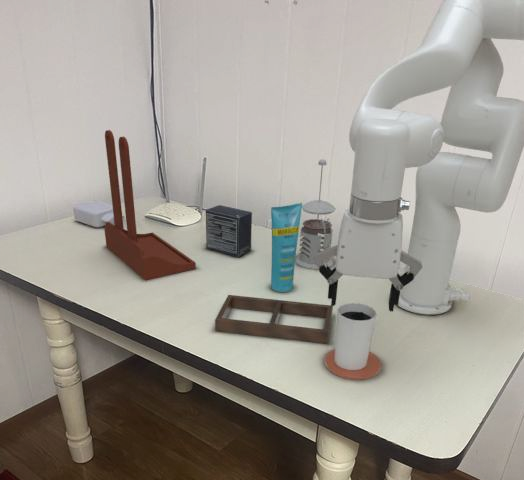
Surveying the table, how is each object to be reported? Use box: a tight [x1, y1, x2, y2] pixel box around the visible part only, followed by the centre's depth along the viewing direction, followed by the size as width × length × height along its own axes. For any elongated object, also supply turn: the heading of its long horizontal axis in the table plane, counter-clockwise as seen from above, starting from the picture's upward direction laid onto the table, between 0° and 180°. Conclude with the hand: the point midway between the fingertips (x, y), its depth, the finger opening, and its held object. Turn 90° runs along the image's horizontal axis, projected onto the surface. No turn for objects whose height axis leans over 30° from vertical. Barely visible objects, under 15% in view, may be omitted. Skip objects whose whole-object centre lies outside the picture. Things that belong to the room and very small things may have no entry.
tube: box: [270, 202, 303, 293], centre depth 123 cm, size 7×5×19 cm, turn 123°
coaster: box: [324, 348, 382, 381], centre depth 101 cm, size 10×10×1 cm
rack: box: [214, 294, 334, 344], centre depth 113 cm, size 22×12×2 cm, turn 80°
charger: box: [73, 199, 126, 229], centre depth 160 cm, size 5×9×15 cm
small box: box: [205, 204, 253, 258], centre depth 145 cm, size 11×6×10 cm, turn 58°
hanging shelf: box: [103, 129, 197, 281], centre depth 133 cm, size 24×13×30 cm, turn 34°
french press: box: [295, 158, 336, 270], centre depth 135 cm, size 10×12×25 cm
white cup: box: [334, 302, 377, 370], centre depth 98 cm, size 7×7×10 cm
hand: (362, 305), depth 96 cm, fingers open, 9 cm apart
